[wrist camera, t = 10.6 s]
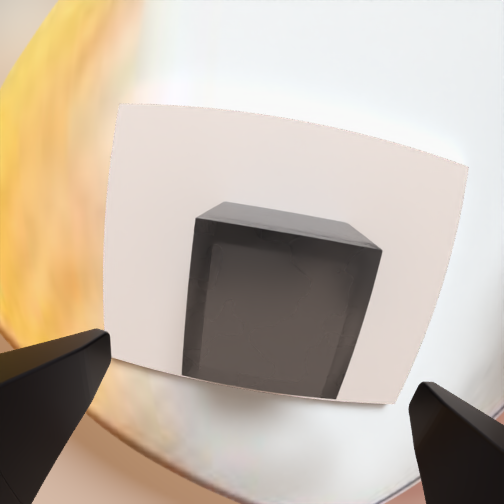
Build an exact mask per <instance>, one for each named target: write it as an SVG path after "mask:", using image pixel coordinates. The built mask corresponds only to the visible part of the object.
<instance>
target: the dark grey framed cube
mask: <svg viewBox="0 0 504 504" xmlns="http://www.w3.org/2000/svg"><path fill="white" fill-rule="evenodd" d="M382 252H383V250H382V249H381V248H379V247H378V246H377V245H375V244H374V243H373V242H372V241H370V240H369V239H368V238H366V237H365V236H364V235H363V234H361V233H360V232H359V231H357V230H356V229H355V228H353V227H352V226H351V225H350V224H348V223H346V222H341V221H336V220H330V219H325V218H320V217H314V216H309V215H303V214H298V213H292V212H286V211H280V210H275V209H269V208H263V207H257V206H251V205H244V204H238V203H232V202H225V201H224V202H223V203H221V204H219V205H217V206H215V207H214V208H212V209H210V210H208V211H206V212H205V213H203V214H201V215H199V216H198V217H196V218H195V226H194V235H193V243H192V252H191V262H190V272H189V282H188V293H187V304H186V316H185V329H184V343H183V358H182V375H183V376H187V377H191V378H196V379H201V380H205V381H210V382H215V383H220V384H225V385H231V386H236V387H242V388H248V389H254V390H260V391H267V392H274V393H281V394H288V395H296V396H305V397H314V398H325V399H336V398H337V396H338V393H339V391H340V388H341V385H342V383H343V380H344V377H345V375H346V372H347V369H348V366H349V363H350V361H351V358H352V355H353V352H354V349H355V346H356V343H357V340H358V337H359V334H360V331H361V327H362V324H363V321H364V318H365V314H366V311H367V308H368V304H369V301H370V297H371V294H372V290H373V287H374V283H375V279H376V276H377V272H378V268H379V264H380V260H381V256H382Z"/></svg>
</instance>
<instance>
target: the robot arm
mask: <svg viewBox="0 0 504 504" xmlns="http://www.w3.org/2000/svg"><path fill="white" fill-rule="evenodd" d="M110 362H111V340H110V334H109V333H108V332H107V331H104V330H100V329H92V330H89V331H85V332H81V333H78V334H74V335H70V336H66V337H63V338H59V339H55V340H51V341H47V342H44V343H40V344H36V345H32V346H28V347H24V348H20V349H16V350H13V351H8V352H4V353H0V504H32V502H33V500H34V498H35V496H36V495H37V493H38V491H39V489H40V487H41V486H42V484H43V482H44V480H45V479H46V477H47V475H48V473H49V472H50V470H51V468H52V467H53V465H54V463H55V461H56V460H57V458H58V456H59V455H60V453H61V451H62V450H63V448H64V446H65V444H66V443H67V441H68V440H69V438H70V436H71V435H72V433H73V431H74V430H75V428H76V427H77V425H78V423H79V422H80V420H81V419H82V417H83V415H84V414H85V412H86V411H87V409H88V407H89V406H90V404H91V402H92V400H93V398H94V396H95V394H96V392H97V390H98V388H99V386H100V383H101V381H102V379H103V377H104V375H105V373H106V371H107V369H108V367H109V365H110ZM409 416H410V423H411V429H412V436H413V444H414V450H415V455H416V459H417V463H418V468H419V472H420V476H421V481H422V485H423V490H424V495H425V500H426V504H504V425H503V424H501V423H499V422H497V421H496V420H494V419H493V418H491V417H489V416H488V415H486V414H485V413H483V412H481V411H480V410H478V409H476V408H475V407H473V406H471V405H470V404H468V403H467V402H465V401H463V400H462V399H460V398H458V397H457V396H455V395H454V394H452V393H450V392H449V391H447V390H446V389H444V388H442V387H441V386H439V385H437V384H436V383H434V382H422V383H420V384H419V386H418V388H417V390H416V392H415V394H414V396H413V398H412V400H411V402H410V404H409Z"/></svg>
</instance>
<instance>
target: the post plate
mask: <svg viewBox="0 0 504 504" xmlns="http://www.w3.org/2000/svg"><path fill="white" fill-rule="evenodd" d="M468 168H469V167H467V166H464V165H462V164H459V163H456V162H453V161H451V160H448V159H445V158H442V157H439V156H436V155H433V154H430V153H427V152H424V151H421V150H417V149H414V148H411V147H408V146H404V145H401V144H397V143H394V142H390V141H387V140H383V139H379V138H375V137H372V136H368V135H364V134H360V133H356V132H351V131H347V130H343V129H338V128H334V127H329V126H324V125H320V124H315V123H309V122H304V121H299V120H293V119H288V118H282V117H275V116H269V115H262V114H255V113H248V112H240V111H232V110H223V109H213V108H203V107H191V106H176V105H157V104H119V109H118V114H117V120H116V126H115V133H114V139H113V146H112V153H111V161H110V170H109V179H108V189H107V200H106V214H105V231H104V257H103V304H104V330H105V331H107V332H108V333H109V334H110V340H111V357H112V358H116V359H119V360H122V361H126V362H129V363H132V364H136V365H139V366H143V367H147V368H150V369H154V370H158V371H162V372H166V373H170V374H174V375H178V376H182V377H186V378H191V377H187V376H183V375H182V358H183V343H184V329H185V316H186V304H187V293H188V282H189V272H190V262H191V252H192V243H193V235H194V226H195V218H196V217H198V216H199V215H201V214H203V213H205V212H206V211H208V210H210V209H212V208H214V207H215V206H217V205H219V204H221V203H223V202H224V201H225V202H232V203H238V204H244V205H251V206H257V207H263V208H269V209H275V210H280V211H286V212H292V213H298V214H303V215H309V216H314V217H320V218H325V219H330V220H336V221H341V222H346V223H348V224H350V225H351V226H352V227H353V228H355V229H356V230H357V231H359V232H360V233H361V234H363V235H364V236H365V237H366V238H368V239H369V240H370V241H372V242H373V243H374V244H375V245H377V246H378V247H379V248H381V249H382V250H383V252H382V256H381V260H380V264H379V268H378V272H377V276H376V279H375V283H374V287H373V290H372V294H371V297H370V301H369V304H368V308H367V311H366V314H365V318H364V321H363V324H362V327H361V331H360V334H359V337H358V340H357V343H356V346H355V349H354V352H353V355H352V358H351V361H350V363H349V366H348V369H347V372H346V375H345V377H344V380H343V383H342V385H341V388H340V391H339V393H338V396H337V398H336V399H325V398H314V397H305V396H296V395H288V394H281V393H274V392H267V391H260V390H254V389H248V388H242V387H236V386H231V385H225V384H220V383H215V382H210V381H205V380H201V379H196V378H191V379H195V380H200V381H204V382H209V383H214V384H219V385H224V386H229V387H235V388H240V389H246V390H252V391H258V392H264V393H271V394H278V395H285V396H293V397H301V398H310V399H320V400H330V401H342V402H357V403H376V404H395V402H396V400H397V398H398V396H399V394H400V392H401V390H402V388H403V386H404V383H405V381H406V379H407V377H408V375H409V372H410V370H411V368H412V366H413V363H414V361H415V359H416V356H417V354H418V351H419V349H420V346H421V344H422V341H423V339H424V336H425V334H426V331H427V328H428V326H429V323H430V320H431V317H432V315H433V312H434V309H435V306H436V303H437V300H438V297H439V294H440V291H441V287H442V284H443V281H444V278H445V274H446V271H447V267H448V264H449V260H450V256H451V252H452V249H453V245H454V241H455V236H456V232H457V228H458V223H459V219H460V214H461V209H462V204H463V199H464V193H465V187H466V181H467V175H468Z"/></svg>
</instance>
